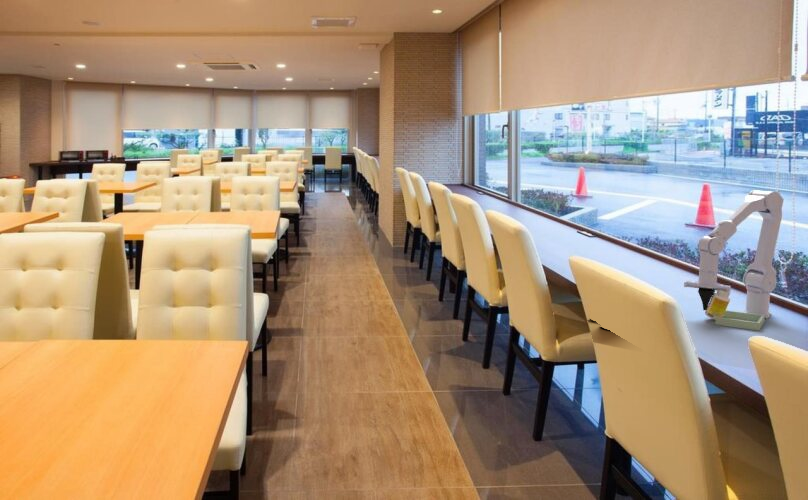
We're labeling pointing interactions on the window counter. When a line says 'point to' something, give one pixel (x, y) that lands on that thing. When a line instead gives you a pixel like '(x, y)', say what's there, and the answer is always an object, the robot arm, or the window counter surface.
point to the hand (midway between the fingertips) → (705, 309)
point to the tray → (741, 320)
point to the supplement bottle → (718, 304)
